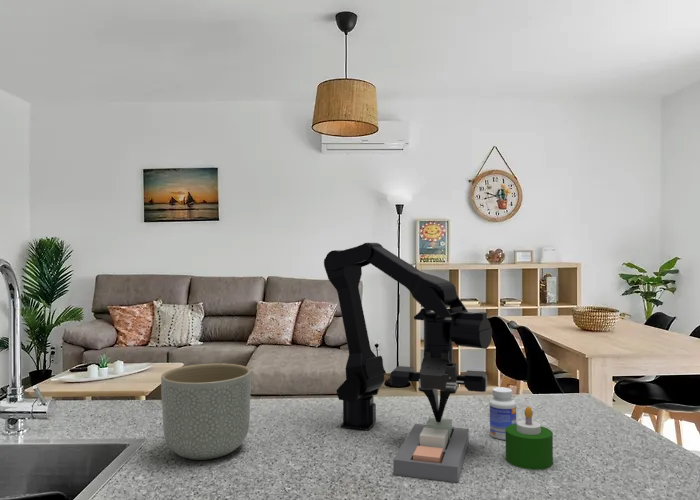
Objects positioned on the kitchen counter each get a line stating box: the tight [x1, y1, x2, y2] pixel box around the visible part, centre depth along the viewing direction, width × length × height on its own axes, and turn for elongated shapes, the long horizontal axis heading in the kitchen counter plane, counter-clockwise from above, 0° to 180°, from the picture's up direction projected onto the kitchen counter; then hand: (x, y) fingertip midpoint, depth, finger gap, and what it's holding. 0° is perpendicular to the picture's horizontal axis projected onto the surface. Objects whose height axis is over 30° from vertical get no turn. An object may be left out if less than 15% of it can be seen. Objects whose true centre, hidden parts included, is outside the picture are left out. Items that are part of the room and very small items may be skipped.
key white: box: [420, 427, 448, 450], centre depth 101 cm, size 5×5×2 cm
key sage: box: [425, 417, 453, 438], centre depth 107 cm, size 5×5×2 cm
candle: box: [505, 406, 554, 471], centre depth 99 cm, size 8×8×10 cm
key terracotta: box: [413, 446, 443, 463], centre depth 95 cm, size 5×5×2 cm
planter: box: [160, 362, 252, 461], centre depth 105 cm, size 17×17×15 cm
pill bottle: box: [488, 386, 517, 441], centre depth 112 cm, size 5×5×10 cm
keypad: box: [392, 423, 470, 484], centre depth 101 cm, size 11×20×3 cm, turn 162°
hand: (438, 421), depth 107 cm, fingers closed
